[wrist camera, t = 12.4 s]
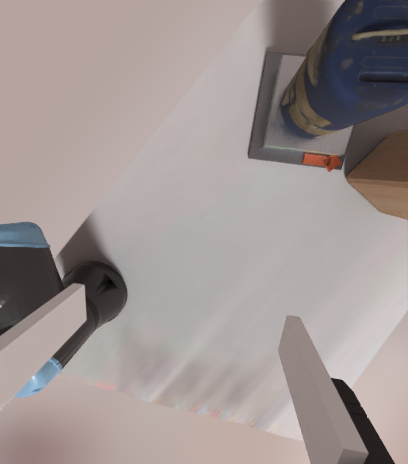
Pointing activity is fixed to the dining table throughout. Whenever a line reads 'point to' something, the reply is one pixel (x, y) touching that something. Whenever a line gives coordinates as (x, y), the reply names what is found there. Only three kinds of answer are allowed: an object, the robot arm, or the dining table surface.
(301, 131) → the canister
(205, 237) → the dining table surface
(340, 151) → the stand
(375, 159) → the block
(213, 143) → the dining table surface
